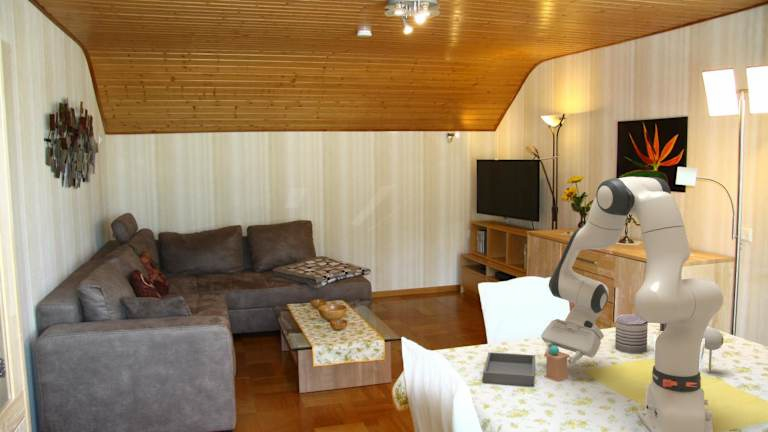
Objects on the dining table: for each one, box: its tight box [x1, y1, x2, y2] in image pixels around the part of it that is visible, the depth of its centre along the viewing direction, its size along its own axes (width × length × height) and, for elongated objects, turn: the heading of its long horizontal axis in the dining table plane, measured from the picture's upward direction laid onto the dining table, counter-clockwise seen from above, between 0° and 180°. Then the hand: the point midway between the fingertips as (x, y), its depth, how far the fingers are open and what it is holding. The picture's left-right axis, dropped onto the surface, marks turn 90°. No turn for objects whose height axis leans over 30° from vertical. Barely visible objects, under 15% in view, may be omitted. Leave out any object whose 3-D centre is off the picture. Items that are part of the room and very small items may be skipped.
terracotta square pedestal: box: [543, 351, 570, 382], centre depth 207 cm, size 6×6×8 cm
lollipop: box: [703, 327, 724, 374], centre depth 208 cm, size 7×7×15 cm
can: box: [614, 313, 649, 355], centre depth 233 cm, size 11×11×12 cm
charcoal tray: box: [482, 351, 536, 387], centre depth 211 cm, size 20×16×4 cm
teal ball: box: [550, 346, 560, 355], centre depth 207 cm, size 3×3×3 cm
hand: (558, 359), depth 208 cm, fingers open, 8 cm apart
